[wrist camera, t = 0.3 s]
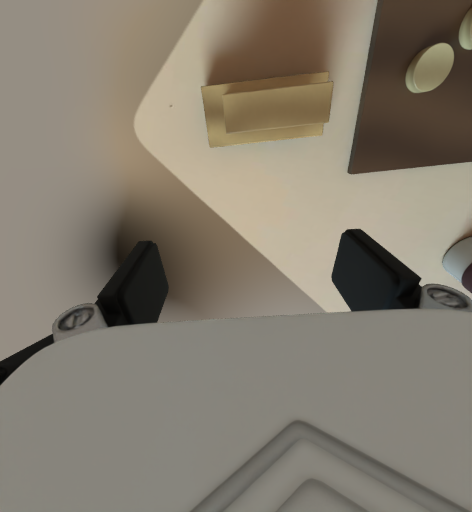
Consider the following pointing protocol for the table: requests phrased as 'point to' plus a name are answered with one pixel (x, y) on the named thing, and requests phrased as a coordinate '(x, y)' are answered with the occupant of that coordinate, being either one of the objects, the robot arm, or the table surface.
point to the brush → (267, 109)
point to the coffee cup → (460, 262)
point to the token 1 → (429, 68)
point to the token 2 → (466, 31)
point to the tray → (409, 103)
